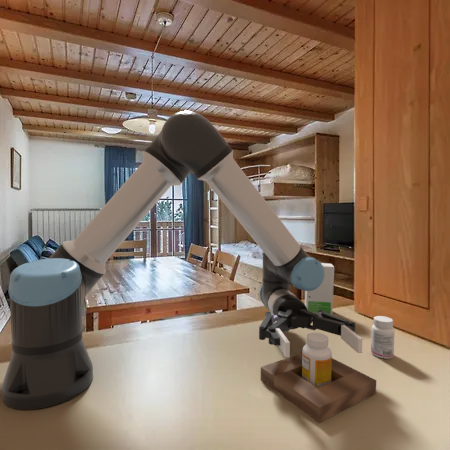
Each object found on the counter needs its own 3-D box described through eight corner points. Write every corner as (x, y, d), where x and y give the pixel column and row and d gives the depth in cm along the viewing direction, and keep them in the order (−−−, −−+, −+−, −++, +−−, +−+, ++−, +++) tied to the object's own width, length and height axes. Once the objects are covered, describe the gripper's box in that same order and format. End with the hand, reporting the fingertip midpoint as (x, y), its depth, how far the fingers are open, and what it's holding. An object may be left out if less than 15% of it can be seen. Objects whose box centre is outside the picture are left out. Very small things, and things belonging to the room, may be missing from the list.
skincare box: (305, 314, 101) (306, 265, 100) (304, 307, 108) (305, 261, 107) (333, 316, 100) (334, 266, 99) (330, 309, 106) (331, 262, 105)
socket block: (319, 422, 52) (319, 407, 51) (260, 379, 64) (260, 366, 64) (375, 393, 60) (376, 380, 59) (313, 359, 72) (313, 348, 72)
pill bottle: (374, 347, 78) (375, 313, 78) (395, 353, 75) (397, 318, 75) (368, 355, 75) (369, 319, 74) (390, 361, 72) (392, 324, 71)
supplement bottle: (334, 383, 63) (335, 334, 62) (326, 397, 58) (328, 345, 58) (306, 375, 66) (308, 328, 65) (297, 388, 61) (298, 338, 60)
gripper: (335, 321, 81) (388, 364, 60) (236, 326, 78) (256, 372, 57) (336, 292, 80) (389, 324, 59) (236, 295, 77) (256, 330, 56)
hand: (324, 348), depth 58 cm, fingers open, 13 cm apart
